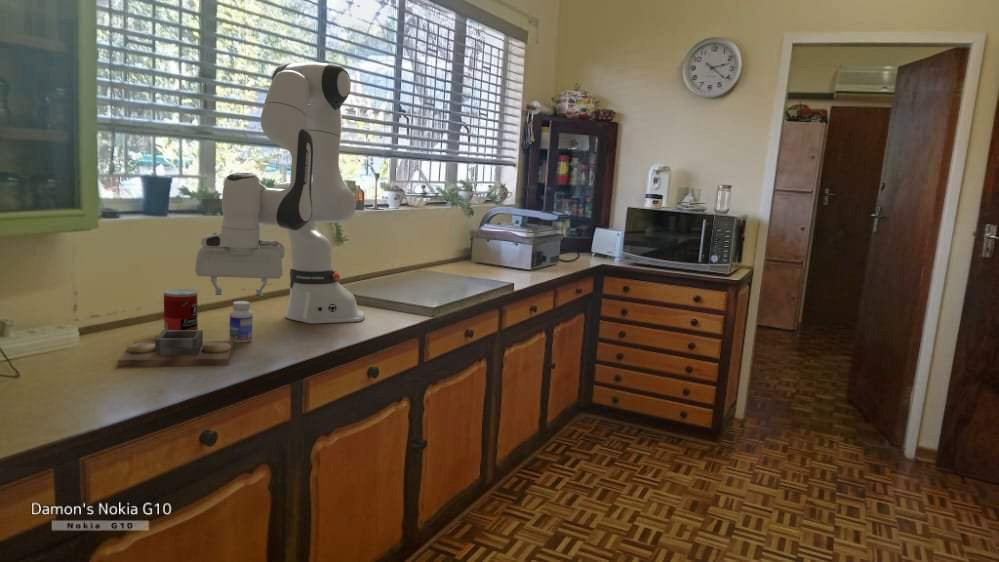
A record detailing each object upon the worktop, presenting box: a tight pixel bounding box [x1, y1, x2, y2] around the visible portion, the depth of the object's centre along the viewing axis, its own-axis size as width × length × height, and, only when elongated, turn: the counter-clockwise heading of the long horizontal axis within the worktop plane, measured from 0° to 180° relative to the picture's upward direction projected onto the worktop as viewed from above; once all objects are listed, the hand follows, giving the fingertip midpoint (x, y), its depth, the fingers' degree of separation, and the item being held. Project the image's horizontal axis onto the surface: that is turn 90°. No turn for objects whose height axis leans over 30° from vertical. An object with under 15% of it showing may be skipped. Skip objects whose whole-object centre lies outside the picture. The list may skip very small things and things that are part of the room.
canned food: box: [163, 288, 199, 330], centre depth 182 cm, size 8×8×11 cm
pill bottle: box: [229, 300, 254, 344], centre depth 180 cm, size 5×5×10 cm
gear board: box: [117, 329, 236, 368], centre depth 164 cm, size 22×16×5 cm
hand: (239, 295), depth 178 cm, fingers open, 8 cm apart
